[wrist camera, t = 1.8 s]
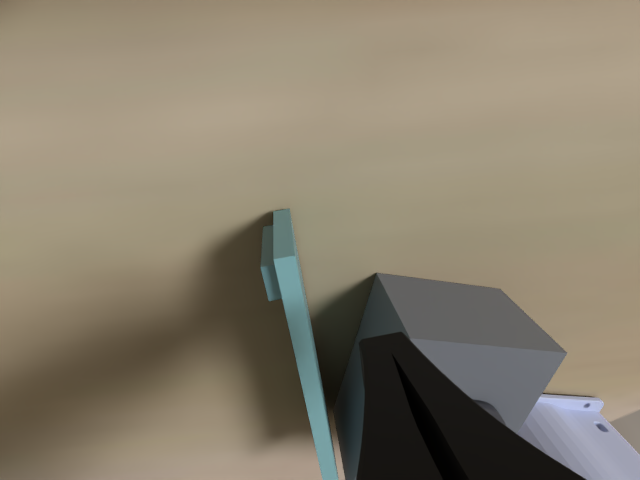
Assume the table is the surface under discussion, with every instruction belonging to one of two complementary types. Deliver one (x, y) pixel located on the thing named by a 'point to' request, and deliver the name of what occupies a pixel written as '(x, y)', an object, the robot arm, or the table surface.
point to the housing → (452, 350)
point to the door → (298, 328)
